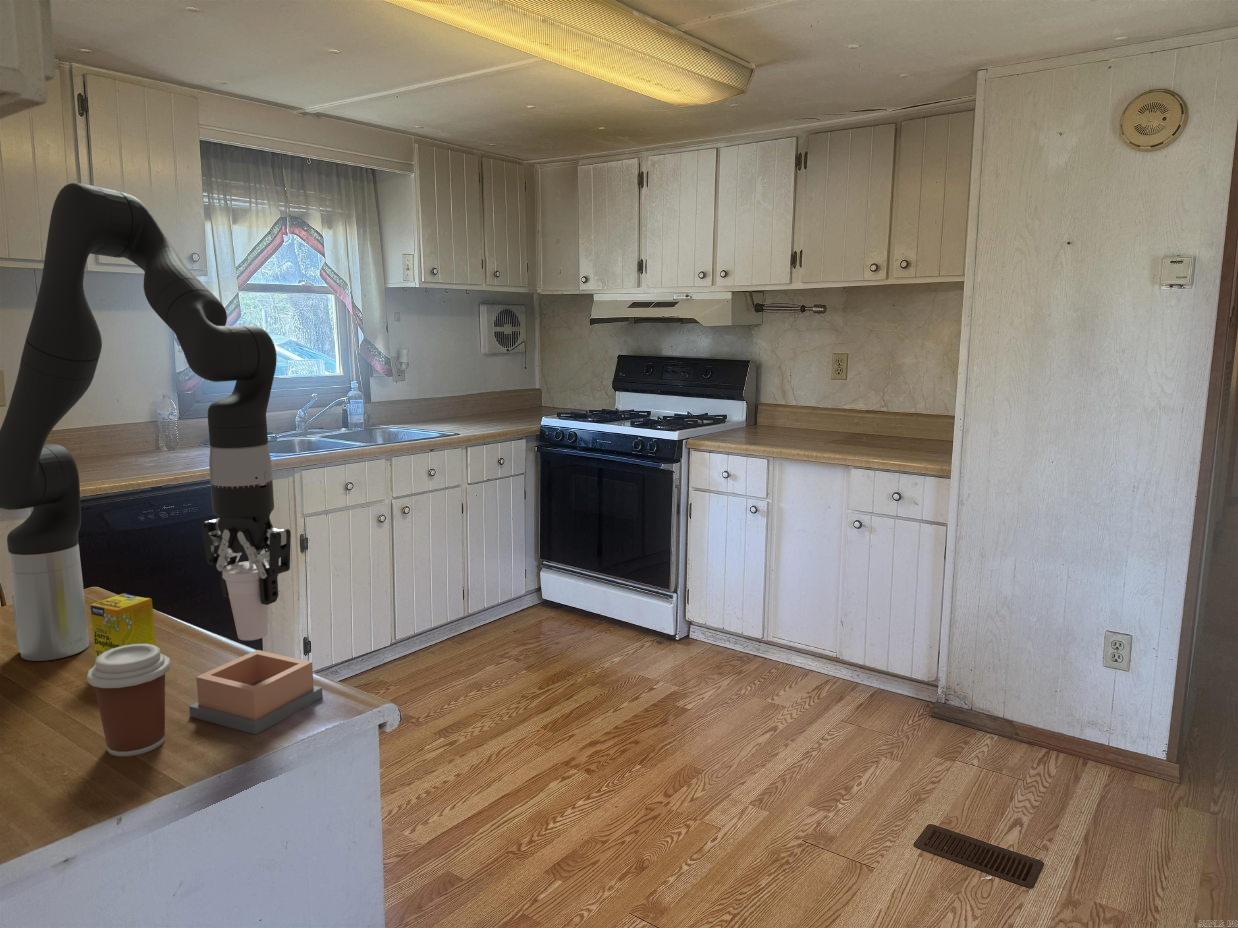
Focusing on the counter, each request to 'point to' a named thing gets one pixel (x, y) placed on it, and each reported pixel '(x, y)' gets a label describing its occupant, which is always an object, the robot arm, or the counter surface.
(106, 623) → the supplement box
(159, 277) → the robot arm
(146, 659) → the coffee cup
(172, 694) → the counter surface
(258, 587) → the smoothie
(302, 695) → the socket
